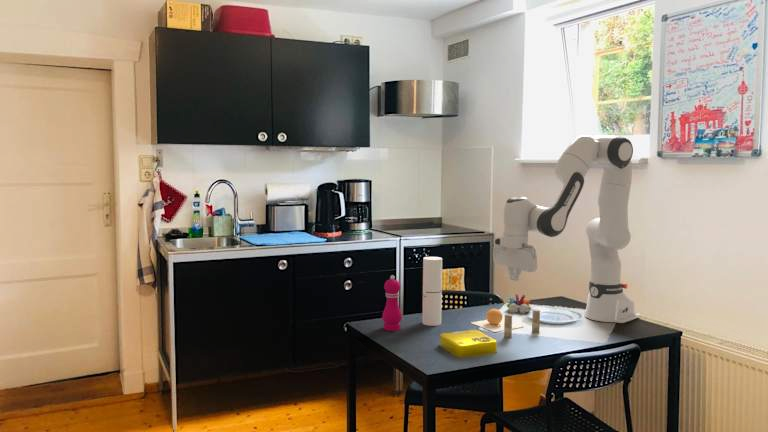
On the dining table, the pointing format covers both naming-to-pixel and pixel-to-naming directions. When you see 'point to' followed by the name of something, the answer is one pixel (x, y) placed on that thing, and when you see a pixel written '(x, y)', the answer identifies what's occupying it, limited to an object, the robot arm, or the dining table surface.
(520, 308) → the multicoloured rounded cluster
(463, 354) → the element tile
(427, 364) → the dining table surface
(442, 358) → the dining table surface
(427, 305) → the cylindrical container
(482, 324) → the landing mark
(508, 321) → the left post
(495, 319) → the ball
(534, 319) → the right post
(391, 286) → the pepper mill
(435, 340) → the dining table surface
